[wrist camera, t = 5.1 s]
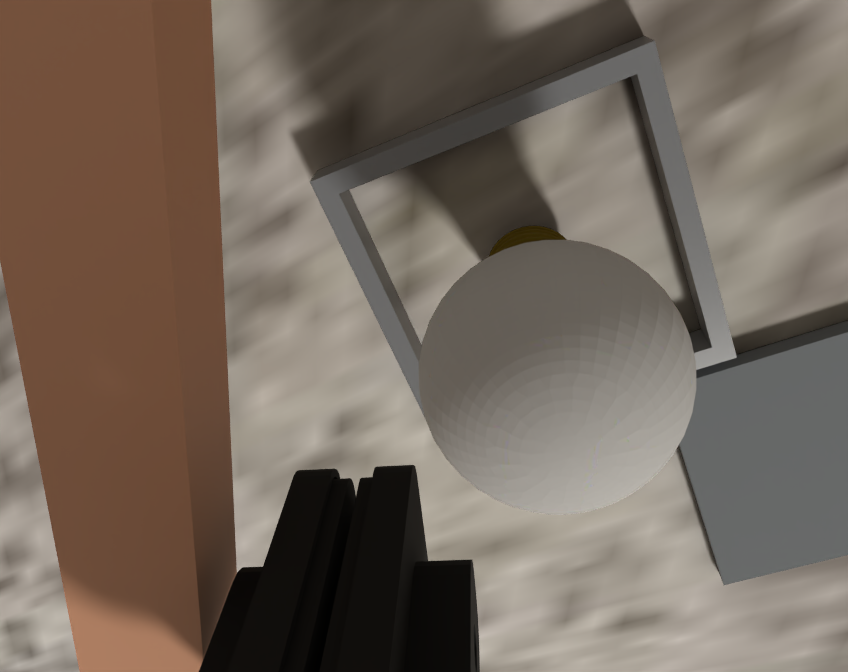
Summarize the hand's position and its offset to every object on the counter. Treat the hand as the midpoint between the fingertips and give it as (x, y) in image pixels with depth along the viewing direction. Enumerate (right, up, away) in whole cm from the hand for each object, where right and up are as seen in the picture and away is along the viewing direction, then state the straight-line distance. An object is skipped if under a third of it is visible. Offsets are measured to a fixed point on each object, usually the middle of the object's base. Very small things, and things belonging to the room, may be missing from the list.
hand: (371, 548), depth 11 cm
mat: (+14, -1, +14) cm, 20 cm away
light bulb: (+4, +5, +12) cm, 14 cm away
